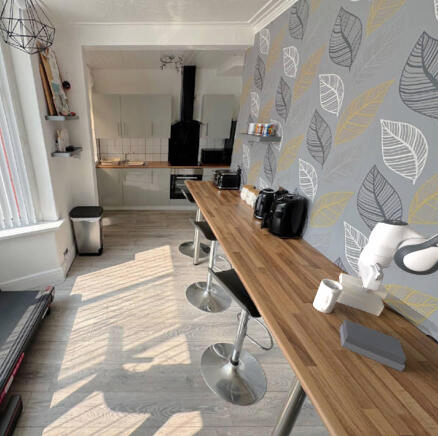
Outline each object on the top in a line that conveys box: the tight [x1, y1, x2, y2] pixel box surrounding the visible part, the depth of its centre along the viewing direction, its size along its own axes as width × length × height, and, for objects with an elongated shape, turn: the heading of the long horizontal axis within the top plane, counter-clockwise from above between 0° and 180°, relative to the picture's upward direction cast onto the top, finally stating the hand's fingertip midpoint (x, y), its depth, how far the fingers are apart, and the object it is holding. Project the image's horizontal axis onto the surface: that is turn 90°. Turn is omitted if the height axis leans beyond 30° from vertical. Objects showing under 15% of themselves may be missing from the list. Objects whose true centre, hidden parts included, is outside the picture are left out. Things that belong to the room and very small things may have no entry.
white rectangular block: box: [336, 280, 385, 317], centre depth 100 cm, size 15×9×5 cm, turn 57°
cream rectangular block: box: [338, 272, 388, 300], centre depth 97 cm, size 14×6×2 cm, turn 57°
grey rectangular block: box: [339, 319, 407, 372], centre depth 79 cm, size 15×9×5 cm, turn 57°
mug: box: [312, 278, 343, 314], centre depth 93 cm, size 10×7×12 cm, turn 148°
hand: (361, 286), depth 97 cm, fingers closed on cream rectangular block, 6 cm apart
